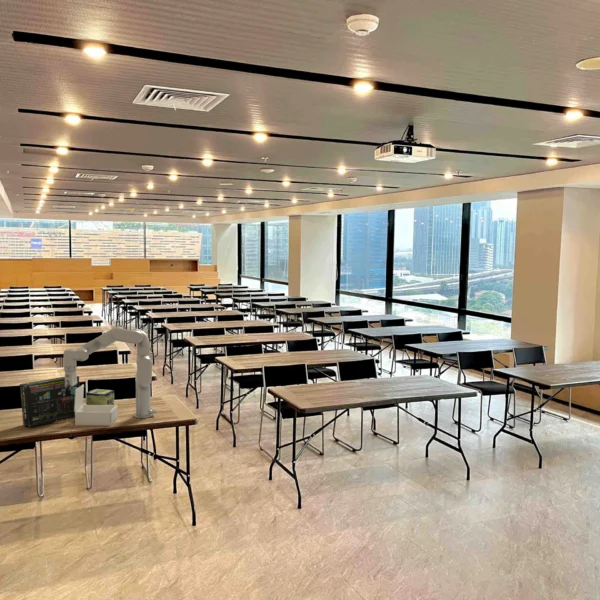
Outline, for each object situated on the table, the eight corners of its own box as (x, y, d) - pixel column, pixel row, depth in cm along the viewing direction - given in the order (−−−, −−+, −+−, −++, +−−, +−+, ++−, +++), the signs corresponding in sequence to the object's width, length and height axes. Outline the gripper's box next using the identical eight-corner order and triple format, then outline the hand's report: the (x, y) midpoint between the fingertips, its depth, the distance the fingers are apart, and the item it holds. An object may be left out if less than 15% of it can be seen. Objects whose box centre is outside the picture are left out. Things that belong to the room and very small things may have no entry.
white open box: (118, 418, 380) (118, 405, 379) (111, 425, 364) (111, 412, 363) (83, 417, 379) (83, 404, 378) (75, 425, 363) (74, 411, 362)
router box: (75, 413, 387) (73, 374, 386) (83, 415, 380) (80, 376, 379) (21, 425, 362) (18, 383, 361) (27, 427, 354) (24, 385, 353)
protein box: (106, 416, 382) (106, 394, 381) (85, 414, 385) (85, 392, 384) (114, 412, 393) (114, 390, 391) (94, 410, 396) (94, 388, 394)
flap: (84, 384, 376) (74, 383, 375) (76, 390, 361) (66, 389, 361) (82, 404, 377) (73, 404, 377) (74, 411, 362) (65, 410, 362)
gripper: (71, 371, 358) (71, 397, 360) (80, 365, 376) (81, 390, 377) (59, 371, 358) (59, 397, 360) (69, 365, 375) (69, 390, 377)
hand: (70, 394), depth 369 cm, fingers open, 9 cm apart
